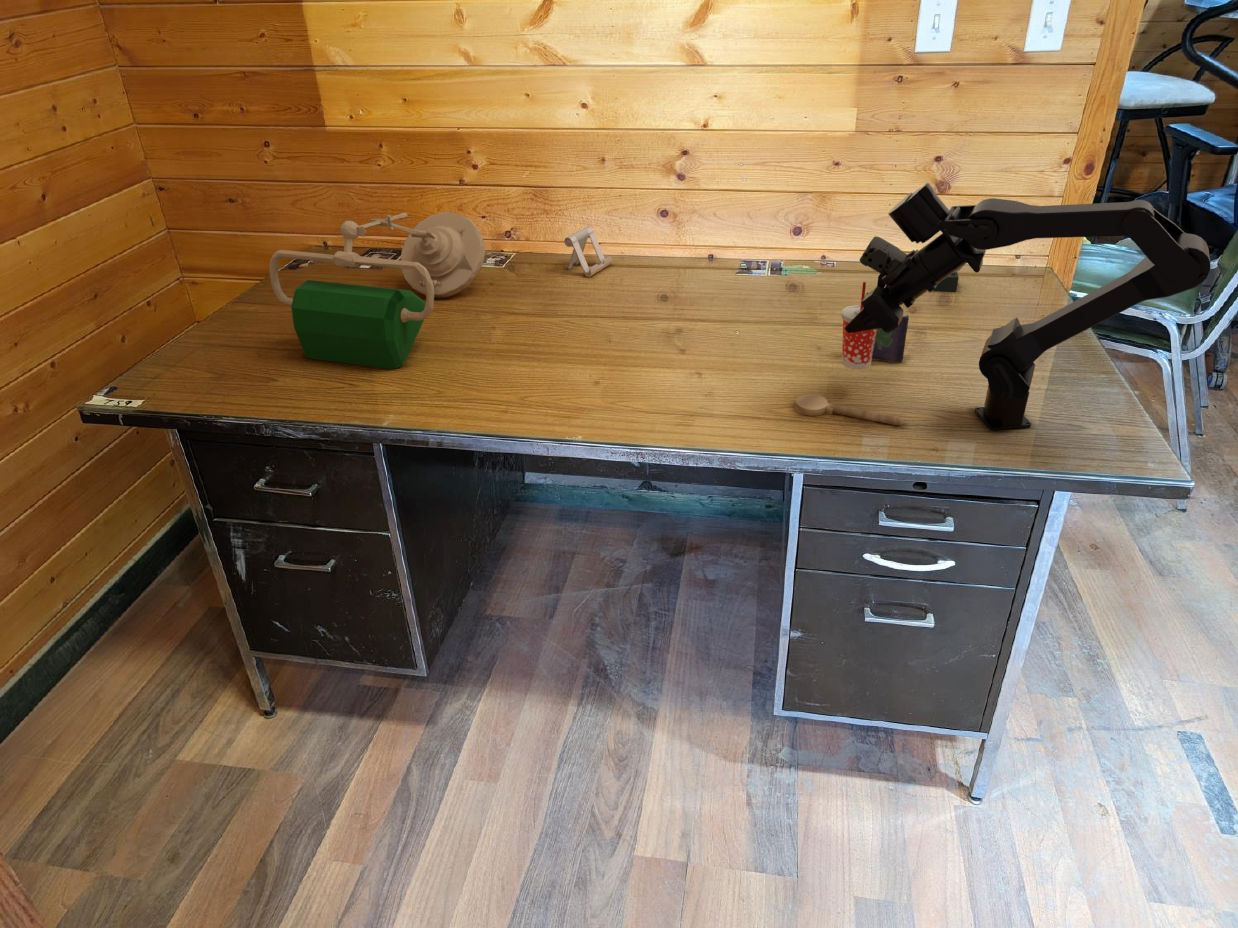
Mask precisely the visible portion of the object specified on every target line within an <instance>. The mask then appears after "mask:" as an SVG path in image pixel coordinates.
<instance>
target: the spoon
mask: <svg viewBox="0 0 1238 928" xmlns="http://www.w3.org/2000/svg"><path fill="white" fill-rule="evenodd" d="M794 409H795V411H797V412H798V413H799V414H801V415H804V416H809V417H817V416H818V417H819V416H821V415H824V414H827V415H831V416H833V414H836V415H842V416H846V417H847V416H848V417H851V418H857V419H862V420H868V421H873V422H876V423H877V422H878V423H883V424H889V425H894V426H901V425H902V424H903V423H904V419H903V418H902V417H901V416H900V415H899V416H898V415H893V414H889V413H888V414H887V413H883V412H879V411H878V412H876V411H873V410H866V409H862V408H856V407H851V406H845V405H840V404H835V403H831V402H829V401H828V399H827V398H826V397H824V396H822V395H819V394H815V393H814V394H812V393H809V394H807V393H806V394H802V395H798V397H797V398H795V404H794Z"/></svg>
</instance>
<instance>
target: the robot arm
mask: <svg viewBox="0 0 1238 928" xmlns="http://www.w3.org/2000/svg"><path fill="white" fill-rule="evenodd" d="M887 215H888V216H889V217H890V218H891V219H892V221H893V222H894V223H895V225H897V227H898V228H899V229H900V230H901V232H902V233H903V234H904V235H905V236H906V238H907V239H908V240H909V241H910V242H911V243H916V244H917V245H918V244H920V243H921V244H924V243H927V241H929V240H931V239H932V238H933V237H934V236H936V235H937V234H939V232H941V233H940V234H939V235H937V236H936V237H935V238H933V239H932V240H931V241H929V242H928V243H927V244H925V246H923V247H921V248H920V249H916V250H915V249H912V250H911V251H910V252H908V253H906V252H904V251H903V250H902V249H900V248H899V247H898V246H896V245H894V244H893V243H891V242H889V241H887V240H886V239H883V238H882V237H880V236H876V235H874V236H873V238H872V239H871V241H870V242H869V243H868V244H867V246H866V248H865V250H864V251H863V253H862V254H861V256H860V258H859V260H858V261H859V262H860V264H861V265H863V266H864V267H867V268H870V269H872V270H873V271H875V272H877V273H879V275H878V276H877V281H876V282H877V284H876V287H875V288H873V289H871V290H870V291H868V292H866V293H865V297H864V299H863V301H862V305H863V307H864V308H863V309H862V310H861V311H860V312H859V313H858V314H857V315H856V316H855V317H854V318H853V319H852V320H851V322H850V323H849V324H848V325H847V326H846V327H845V330H846V331H847V332H848V333H854V332H859V331H865V330H871V329H879V328H882V329H883V331H884V332H886V333H889V332H891V331H892V330H894V329H895V328H897V327H898V326H899V324H900V322H901V320H902V318H903V312H905V311H904V309H903V308H902V305H903V306H905V307H906V309H909V308H910V307H912V306H914V303H915V302H916V300H917V299H918V298H920V297H922V296H923V295H924V294H925V293H927V292H929V293H931V292H933V291H934V289H935V288H936V286H937V284H938V283H940V282H941V281H942V280H944V279H945V278H947V277H948V276H949V275H951V274H952V273H954V272H955V271H957V270H958V269H959V268H961V267H962V266H963V267H964V266H966V265H968V266H969V267H970V268H971V269H972V270H973V272H974V273H979V272H980V271H981V268H982V266H983V265H984V264H983V263H984V257H985V254H986V253H987V250H994V249H999V248H1005V247H1010V246H1013V245H1016V244H1019V243H1022V242H1025V241H1030V240H1036V239H1063V238H1064V239H1065V238H1097V237H1100V238H1101V237H1128V238H1129V239H1130V240H1131V241H1132V242H1133V243H1134V244H1135V245H1136V246H1137V247H1138V248H1139V249H1140V251H1141V252H1142V253H1143V254H1144V255H1145V257H1144V258H1143V259H1141V260H1140V262H1138V263H1137V264H1136V265H1135V266H1133V268H1132V269H1130V270H1129V271H1128V272H1126V273H1125V274H1123V275H1121V276H1119V277H1117V278H1115V279H1113V280H1112V281H1110V282H1108V283H1106V284H1104V285H1103V286H1100V287H1099V288H1096V289H1095V290H1093V291H1091V292H1089V293H1088V294H1085V295H1083V296H1082V297H1080V298H1078V299H1076V300H1074V301H1072V302H1070V303H1069V304H1067V305H1065V306H1063V307H1061V308H1059V309H1057V310H1056V311H1053V312H1052V313H1050V314H1048V315H1046V316H1045V317H1043V318H1040V319H1039V320H1037V321H1034V322H1031V323H1025V324H1024V323H1023V324H1021V322H1020V320H1019V318H1018V317H1015V318H1013V319H1012V320H1010V321H1009V322H1007V323H1006V324H1005V325H1003V326H1001V327H994V328H993V329H992V331H991V335H990V336H989V337H988V338H987V339H986V341H985V343H984V345H983V348H982V351H981V355H980V357H979V361H978V369H979V371H980V373H981V375H982V376H984V378H985V379H986V380H987V385H988V386H987V390H986V394H985V400H984V406H977V407H974V413H975V414H976V415H977V416H978V418H980V419H981V421H982V422H983V423H984V424H985V425H986V426H987V427H988V428H989V430H991V431H999V430H1000V431H1001V430H1010V429H1012V430H1013V429H1022V428H1023V429H1024V428H1031V426H1032V422H1031V421H1030V420H1029V419H1028V418H1027V417H1026V416H1025V413H1026V408H1027V404H1028V400H1029V396H1030V389H1031V384H1032V382H1033V377H1034V372H1035V369H1036V363H1035V362H1036V361H1037V359H1038V358H1040V357H1041V356H1042V355H1043V354H1044V353H1046V352H1047V351H1048V350H1050V349H1052V348H1054V347H1056V346H1058V345H1060V344H1062V343H1063V342H1065V341H1068V340H1069V339H1071V338H1073V337H1076V336H1077V335H1079V334H1082V333H1083V332H1085V331H1087V330H1089V329H1091V328H1093V327H1095V326H1097V325H1099V324H1101V323H1103V322H1105V321H1107V320H1109V319H1111V318H1112V317H1114V316H1116V315H1119V314H1121V313H1122V312H1125V311H1126V310H1128V309H1131V308H1132V307H1134V306H1137V305H1139V304H1140V303H1142V302H1145V301H1150V300H1151V301H1152V300H1157V299H1163V298H1164V299H1165V298H1169V297H1172V296H1175V295H1178V294H1181V293H1184V292H1187V291H1190V290H1192V289H1195V288H1197V287H1199V286H1200V285H1202V284H1203V283H1204V282H1205V281H1206V280H1207V279H1208V277H1209V274H1210V271H1211V258H1210V250H1209V247H1208V244H1207V241H1206V240H1205V239H1204V238H1202V237H1201V236H1199V235H1197V234H1194V233H1187V232H1185V231H1184V230H1182V228H1180V227H1179V226H1178V225H1177V223H1175V222H1173V221H1172V220H1171V219H1169V218H1168V217H1166V216H1165V215H1164V214H1162V213H1161V212H1159V211H1158V210H1157V209H1156V208H1154V205H1152V204H1151V203H1150V202H1149V201H1147V200H1145V199H1134V200H1131V201H1123V202H1122V201H1120V202H1101V203H1100V202H1099V203H1079V204H1077V203H1076V204H1055V205H1051V204H1050V205H1035V204H1028V203H1025V202H1022V201H1018V200H1014V199H1013V200H1012V199H1003V198H994V197H990V198H985V199H982V200H981V201H979V202H978V203H977V204H967V205H953V206H951V207H950V208H949V207H947V206H946V204H945V203H944V202H943V200H942V199H940V197H939V196H938V195H937V193H936V191H935V189H934V187H933V186H932V185H931V184H930V183H929V182H926V183H925V184H923V186H921V187H919V188H918V189H916V190H915V191H913V192H910V193H908V194H907V195H906V196H905V197H904V198H902V199H901V200H900V201H899V202H898V203H897V204H896V205H894V206H893V207H892V208H891V209H890V210H889V211H888V213H887ZM963 267H962V268H963ZM957 272H958V271H957Z"/></svg>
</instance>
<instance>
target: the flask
mask: <svg viewBox="0 0 1238 928" xmlns="http://www.w3.org/2000/svg"><path fill="white" fill-rule="evenodd" d="M909 320H910V319H909V313H908V312H906V311H903V318H902V320H901V322H900V324H899V326H898V327H897V328H895V329H894V330H892V331H891V332H889V333H886V332H884V331H883V329H882V328H879V329H877V332H876V337H875V343H874V348H873V354H872V360H871V361H881V362H887V363H894V364H900V363H902V362H903V359H904V354H905V348H906V340H907V332H908V328H909Z"/></svg>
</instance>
